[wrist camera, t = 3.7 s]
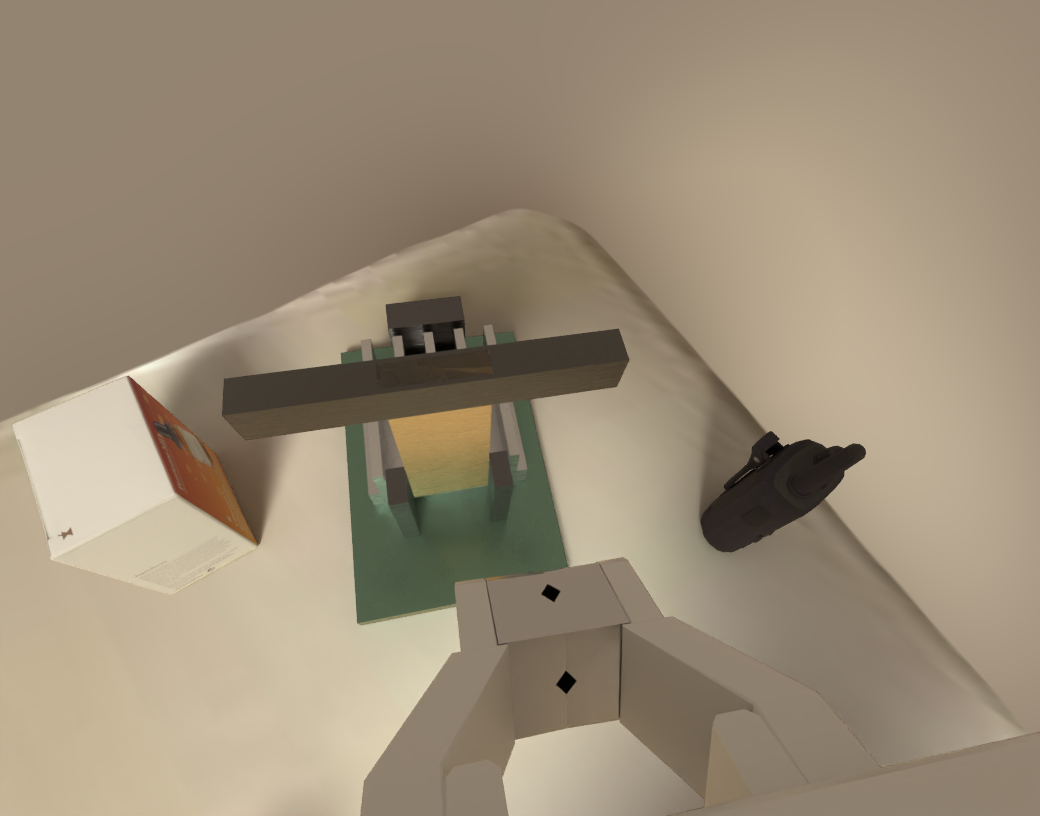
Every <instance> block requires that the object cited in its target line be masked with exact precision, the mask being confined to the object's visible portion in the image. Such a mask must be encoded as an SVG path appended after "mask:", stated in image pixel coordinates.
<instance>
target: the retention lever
mask: <svg viewBox="0 0 1040 816" xmlns="http://www.w3.org/2000/svg"><path fill="white" fill-rule="evenodd" d="M628 362H629V357H628V355H627V352H626V349H625V346H624V343H623V340H622V337H621V334H620V331H619V329H613V330H605V331H597V332H589V333H581V334H573V335H566V336H558V337H550V338H542V339H534V340H526V341H518V342H511V343H503V344H495V345H487V346H479V347H471V348H463V349H456V350H448V351H440V352H432V353H424V354H416V355H408V356H401V357H393V358H385V359H377V360H369V361H361V362H353V363H346V364H338V365H330V366H322V367H314V368H306V369H298V370H290V371H283V372H275V373H267V374H259V375H251V376H243V377H235V378H228V379H224V390H223V410H222V416H223V417H224V418H225V419H226V420H227V421H228V422H229V423H230V424H231V425H232V427H233V428H234V429H235V430H236V431H237V432H238V433H239V434H240V435H241V436H242V437H243V438H244V439H245V440H251V439H258V438H265V437H272V436H279V435H286V434H293V433H300V432H307V431H314V430H321V429H328V428H335V427H342V426H349V425H356V424H363V423H369V422H376V421H383V420H388V421H389V424H390V427H391V430H392V433H393V436H394V438H395V441H396V444H397V447H398V450H399V453H400V456H401V459H402V462H403V465H404V468H405V471H406V474H407V477H408V480H409V483H410V486H411V489H412V492H413V495H414V497H420V496H426V495H432V494H438V493H444V492H450V491H456V490H462V489H468V488H474V487H480V486H486V485H488V469H489V449H490V430H491V410H492V405H494V404H501V403H508V402H515V401H522V400H529V399H536V398H543V397H550V396H557V395H564V394H571V393H578V392H585V391H591V390H598V389H605V388H612V387H617V385H618V383H619V381H620V379H621V377H622V375H623V373H624V370H625V368H626V366H627V364H628Z"/></svg>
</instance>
